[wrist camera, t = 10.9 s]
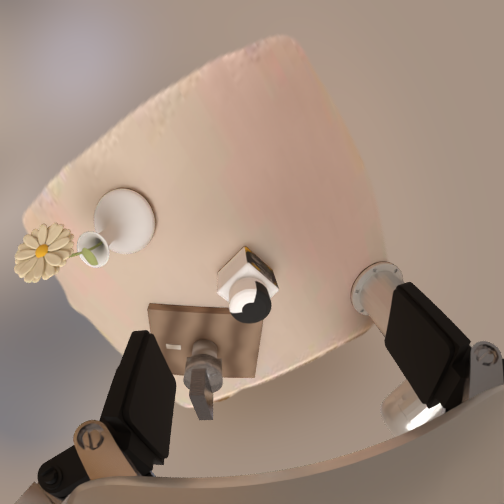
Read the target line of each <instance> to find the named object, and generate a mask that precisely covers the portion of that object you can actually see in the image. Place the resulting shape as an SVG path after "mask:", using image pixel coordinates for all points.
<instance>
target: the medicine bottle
mask: <svg viewBox="0 0 504 504" xmlns="http://www.w3.org/2000/svg"><path fill="white" fill-rule="evenodd" d="M278 291H279V288H278V285H277V282H276V279H275V276H274V273H273V270H272V269H270V268H269V267H268V266H267V265H266V264H265V263H264V262H263V261H261V260H260V259H259V258H258V257H257V256H256V255H255V254H254V253H252V252H251V251H250V250H249V249H248V248H247V247H243V248H242V249H241V250H240V251H239V252H238V253H237V254H236V255H235V256H234V257H233V258H232V259H231V260H230V261H229V262H228V263H227V264H226V265H225V266H224V267H223V268H222V269H221V270H220V271H219V272H218V277H217V294H218V295H220V296H221V297H222V298H224V299H225V300H226V301H227V302H229V310H230V313H231V315H232V316H233V317H234V318H235V319H236V320H237V321H239V322H242V323H247V324H252V323H257V322H259V321H261V320H263V319H264V318H266V317H267V315H268V314H269V313H270V310H271V300H270V298H271V297H272V296H273V295H275V294H276V293H277V292H278Z"/></svg>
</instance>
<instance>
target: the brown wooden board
mask: <svg viewBox="0 0 504 504" xmlns="http://www.w3.org/2000/svg"><path fill="white" fill-rule="evenodd" d="M147 310H148V317H149V324H150V331H151V334H154V336H155V338H156V341H157V343H158V345H159V347H160V349H161V352H162V354H163V356H164V358H165V360H166V362H167V364H168V366H169V368H170V370H171V372H172V374H174V375H184V372H185V364H186V361H187V360H188V359H189V358H190V357H191V356H193V355H197V354H207V355H211V356H213V357H215V358H217V359H218V360H219V361H220V362H221V364H222V377H228V378H255V372H256V365H257V358H258V352H259V345H260V338H261V331H262V325H263V320H261V321H259V322H257V323H252V324H247V323H242V322H239V321H237V320H236V319H235V318H234V317H233V316H232V315H231V313H230V310H229V308H212V307H193V306H177V305H163V304H151V303H150V304H149V306H148V309H147Z"/></svg>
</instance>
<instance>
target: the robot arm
mask: <svg viewBox="0 0 504 504" xmlns="http://www.w3.org/2000/svg"><path fill="white" fill-rule="evenodd" d="M351 301H352V305H353V306H354V308H355V309H356V310H357V312H359V313H360V314H362V315H366V316H370V317H371V319H372V320H373V321H374V323H375V324H376V326H377V327H378V328H379V330H380V331H381V333H382V334H383V336H384V337H385V346H386V348H387V350H388V351H389V353H390V354H391V356H392V357H393V359H394V360H395V362H396V363H397V365H398V366H399V368H400V369H401V371H402V372H403V374H404V376H405V377H406V380H405V381H403V382H402V383H401V384H400V385H399V386H398V387H397V388H396V389H395V390H394V391H392V392H391V393H390V394H389V395H388V396H387V397H386V398H385V399H384V401H383V402H382V405H381V409H380V410H381V416H382V418H383V420H384V423H385V424H386V426H387V428H388V429H389V431H390V432H391V433H392V435H393V436H394V438H392V439H389V440H387V441H384V442H382V443H379V444H377V445H374V446H371V447H368V448H365V449H362V450H360V451H356V452H354V453H350V454H347V455H344V456H340V457H337V458H333V459H330V460H326V461H322V462H318V463H314V464H309V465H305V466H300V467H295V468H290V469H285V470H279V471H273V472H266V473H259V474H250V475H240V476H228V477H207V478H171V477H170V478H169V477H156V476H155V475H154V473H153V472H152V469H153V464H156V465H164V458H167V457H168V455H169V444H170V435H171V426H172V417H173V408H174V401H175V394H176V381H175V378H174V376H173V374H172V372H171V370H170V368H169V366H168V364H167V362H166V360H165V358H164V356H163V354H162V352H161V349H160V347H159V345H158V343H157V341H156V338H155V336H154V334H150V333H149V332H148V331H147V330H143V331H134V332H132V334H131V336H130V339H129V341H128V344H127V347H126V349H125V352H124V355H123V357H122V360H121V363H120V365H119V367H118V368H117V370H116V373H115V376H114V379H113V381H112V384H111V387H110V390H109V393H108V396H107V399H106V402H105V405H104V408H103V411H102V414H101V418H100V421H97V420H89V421H86V422H84V423H82V424H81V425H79V427H78V428H77V429H76V431H75V433H74V437H73V441H74V445H73V446H72V447H70V448H68V449H67V450H65V451H64V452H62V453H60V454H59V455H57V456H55V457H54V458H52V459H50V460H48V461H47V462H45V463H44V464H43V465H42V466H41V467H40V469H39V471H38V483H36V482H33V483H32V485H31V486H30V487H29V488H28V489H27V490H26V491H25V492H24V494H23V495H22V496H21V497H20V498H19V499H18V500H17V501H16V503H15V504H504V359H502V356H501V352H500V350H499V349H498V348H497V347H496V346H495V345H494V344H492V343H490V342H486V341H481V342H477V343H476V344H475V345H473V346H472V345H470V342H471V341H470V340H469V339H468V338H467V337H466V336H465V335H464V334H463V333H462V331H461V330H460V329H459V328H458V327H457V326H456V325H455V324H454V323H453V322H452V321H451V320H450V319H449V318H448V317H447V316H446V315H445V314H444V313H443V312H442V311H441V310H440V309H439V308H438V307H437V306H436V305H435V304H433V302H432V301H431V300H430V299H429V298H427V297H426V296H425V295H424V294H423V293H422V292H421V291H420V290H419V289H418V288H417V287H416V286H415V285H413V283H411V282H407V283H404V282H403V276H402V273H401V271H400V270H399V268H398V267H397V266H395V265H394V264H392V263H389V262H379V263H376V264H373V265H371V266H370V267H368V268H367V269H365V270H364V271H363V272H362V273H361V274H360V275H359V277H358V278H357V279H356V281H355V283H354V285H353V288H352V291H351Z"/></svg>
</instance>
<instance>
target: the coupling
mask: <svg viewBox="0 0 504 504" xmlns="http://www.w3.org/2000/svg"><path fill="white" fill-rule="evenodd" d="M222 383H223V380H222V364H221V362H220V361H219V360H218V359H217V358H215V357H213V356H211V355H207V354H197V355H193V356H191V357H190V358H189V359H188V360H187V361H186V364H185V372H184V384H185V386H186V387H187V388H188V389H190V392H189V397H190V399H191V402H192V404H193V406H194V409H195V411H196V413H197V416H198V418H199V420H213V392H216V391H218V390H219V389H220V388H221V387H222Z"/></svg>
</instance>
